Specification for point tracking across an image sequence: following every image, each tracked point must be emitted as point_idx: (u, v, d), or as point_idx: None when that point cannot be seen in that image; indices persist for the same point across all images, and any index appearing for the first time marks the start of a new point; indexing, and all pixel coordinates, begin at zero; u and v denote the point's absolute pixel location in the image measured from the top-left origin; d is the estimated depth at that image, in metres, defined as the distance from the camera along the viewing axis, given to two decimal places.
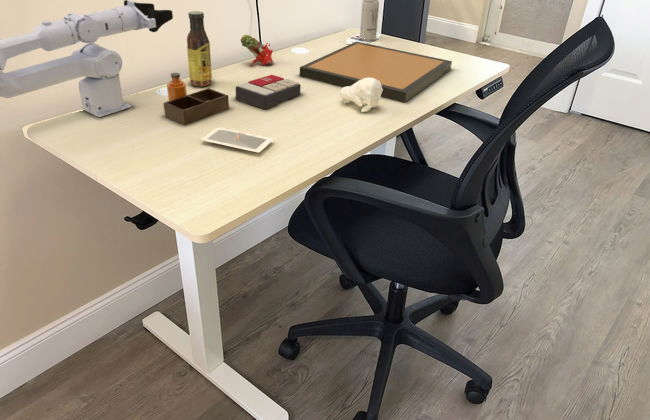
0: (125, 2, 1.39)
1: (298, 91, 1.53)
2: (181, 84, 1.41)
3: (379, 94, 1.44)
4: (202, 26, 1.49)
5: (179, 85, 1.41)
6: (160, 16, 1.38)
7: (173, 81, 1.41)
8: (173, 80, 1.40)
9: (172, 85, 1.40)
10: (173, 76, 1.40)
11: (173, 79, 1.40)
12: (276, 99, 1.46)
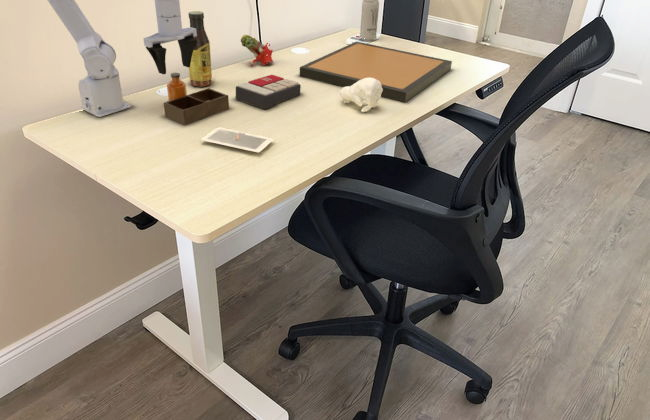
0: (194, 39, 1.38)
1: (298, 91, 1.53)
2: (181, 84, 1.41)
3: (379, 94, 1.44)
4: (202, 26, 1.49)
5: (179, 85, 1.41)
6: (159, 59, 1.35)
7: (173, 81, 1.41)
8: (173, 80, 1.40)
9: (172, 85, 1.40)
10: (173, 76, 1.40)
11: (173, 79, 1.40)
12: (276, 99, 1.46)
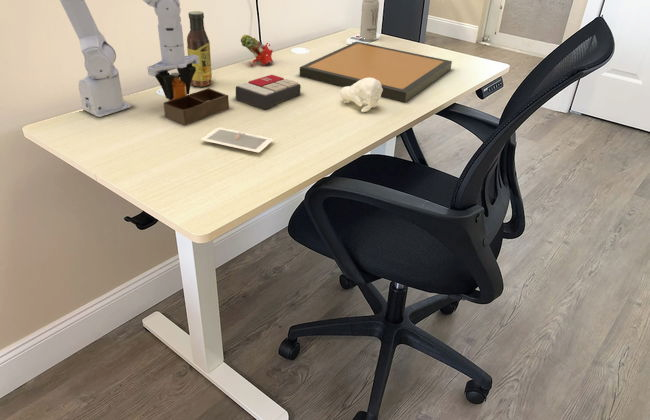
0: (193, 67, 1.41)
1: (298, 91, 1.53)
2: (181, 84, 1.41)
3: (379, 94, 1.44)
4: (202, 26, 1.49)
5: (179, 85, 1.41)
6: (166, 85, 1.39)
7: (173, 81, 1.41)
8: (173, 80, 1.40)
9: (172, 85, 1.40)
10: None
11: (173, 79, 1.40)
12: (276, 99, 1.46)
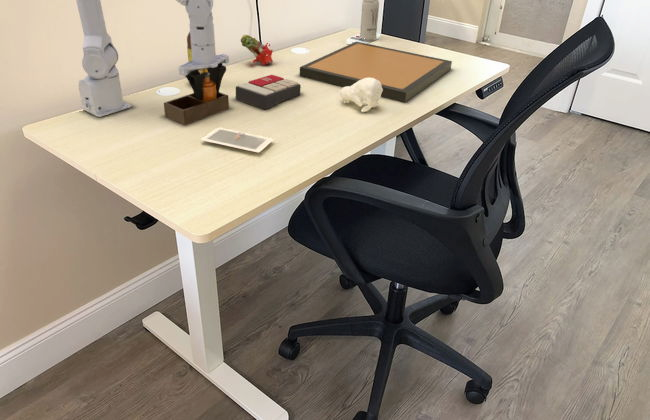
0: (223, 67, 1.39)
1: (298, 91, 1.53)
2: (211, 84, 1.39)
3: (379, 94, 1.44)
4: None
5: (209, 85, 1.38)
6: (197, 85, 1.37)
7: (203, 81, 1.38)
8: (203, 80, 1.38)
9: None
10: None
11: None
12: (276, 99, 1.46)
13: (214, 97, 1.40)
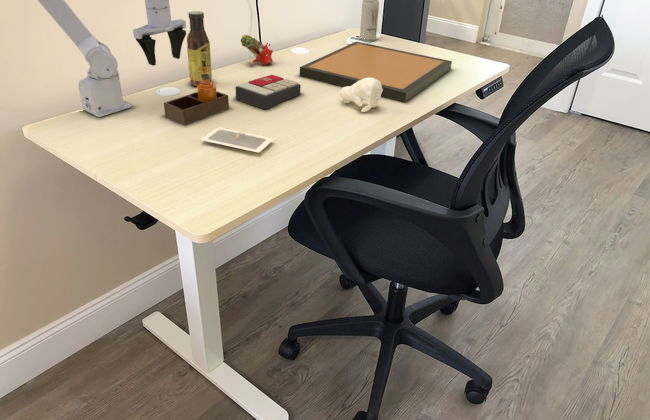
0: (183, 31, 1.40)
1: (298, 91, 1.53)
2: (211, 85, 1.39)
3: (379, 94, 1.44)
4: (202, 26, 1.49)
5: (210, 86, 1.39)
6: (149, 50, 1.37)
7: (203, 82, 1.39)
8: (203, 81, 1.38)
9: (202, 86, 1.38)
10: (204, 77, 1.38)
11: (204, 80, 1.38)
12: (276, 99, 1.46)
13: None
